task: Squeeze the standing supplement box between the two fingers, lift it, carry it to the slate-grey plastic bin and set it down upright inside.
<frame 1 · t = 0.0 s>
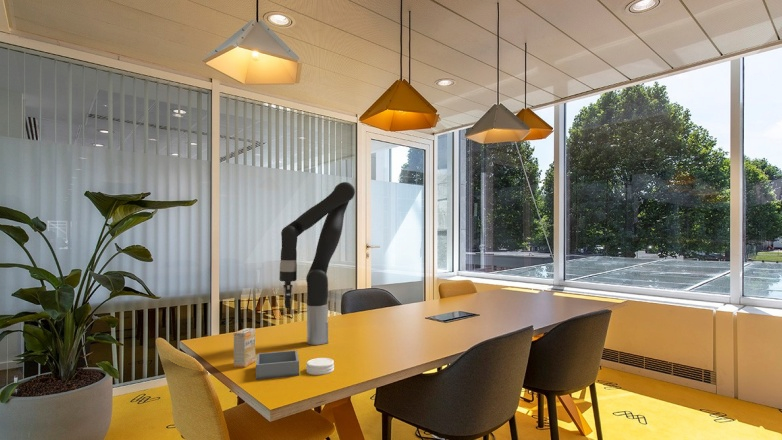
hand: (287, 306, 194), 17 cm above the table, tool pointing down, fingers open, 8 cm apart
bin: (277, 371, 158), on the table
supplement box: (245, 365, 167), on the table
white short cylinder: (320, 371, 158), on the table
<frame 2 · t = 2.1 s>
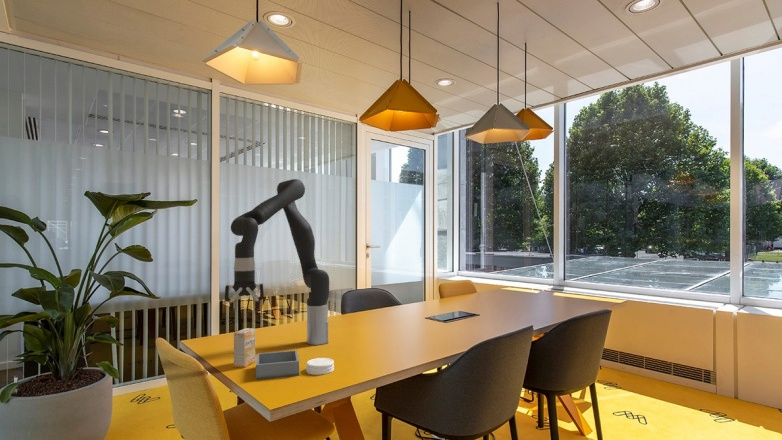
hand: (244, 311, 167), 20 cm above the table, tool pointing down, fingers open, 8 cm apart
nothing on the table moved.
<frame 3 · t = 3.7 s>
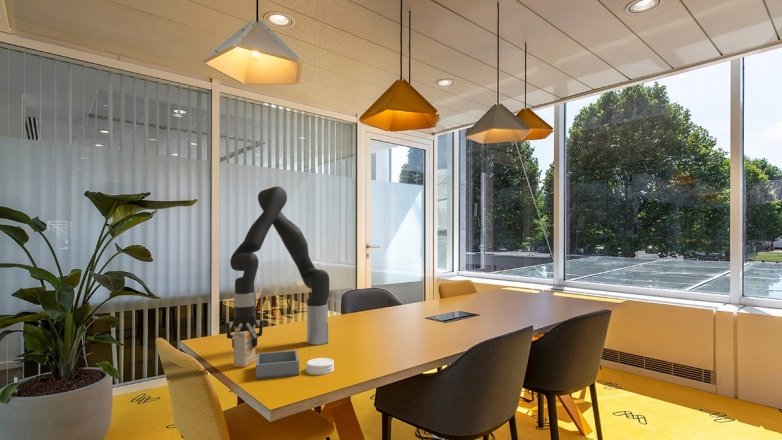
hand: (244, 348, 167), 6 cm above the table, tool pointing down, fingers closed on supplement box, 6 cm apart
supplement box: (245, 364, 167), on the table, touching gripper
everything else where it was.
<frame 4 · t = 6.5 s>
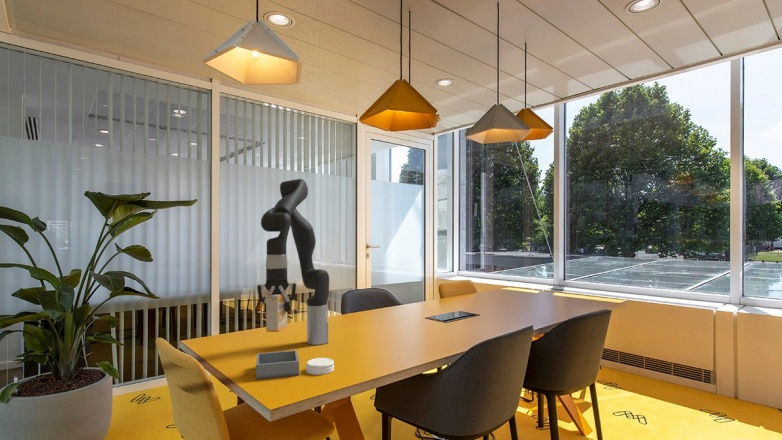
hand: (277, 312, 159), 21 cm above the table, tool pointing down, fingers closed on supplement box, 6 cm apart
supplement box: (277, 330, 159), point 15 cm above the table, touching gripper
everything else where it was.
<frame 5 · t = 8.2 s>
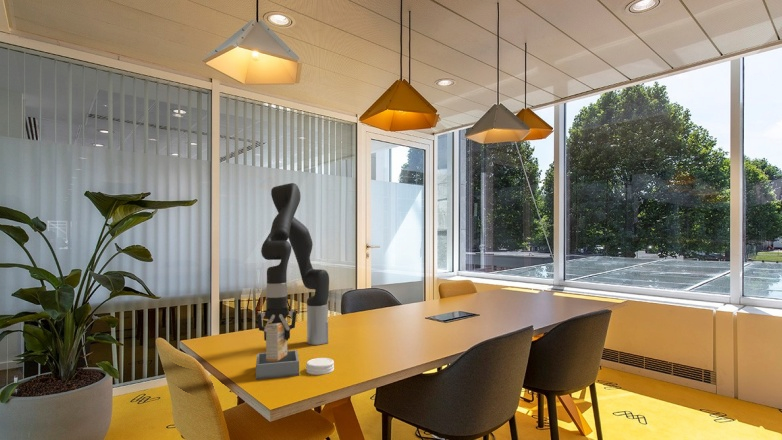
hand: (277, 340, 159), 11 cm above the table, tool pointing down, fingers closed on supplement box, 6 cm apart
supplement box: (277, 358, 158), point 4 cm above the table, touching gripper
everything else where it was.
when the fingers open (8 cm above the table, at t = 9.4 s): supplement box drops 1 cm, resting on bin.
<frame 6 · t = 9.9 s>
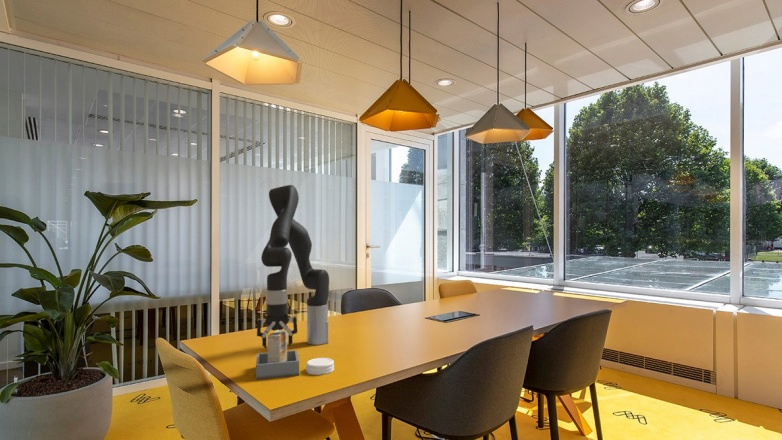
hand: (277, 346, 158), 9 cm above the table, tool pointing down, fingers open, 8 cm apart
supplement box: (277, 369, 158), point 1 cm above the table, touching bin
everything else where it was.
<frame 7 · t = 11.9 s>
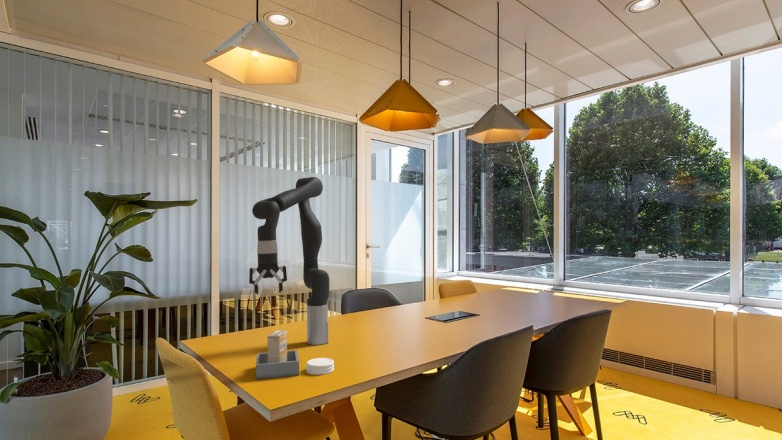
hand: (268, 293, 170), 27 cm above the table, tool pointing down, fingers open, 8 cm apart
nothing on the table moved.
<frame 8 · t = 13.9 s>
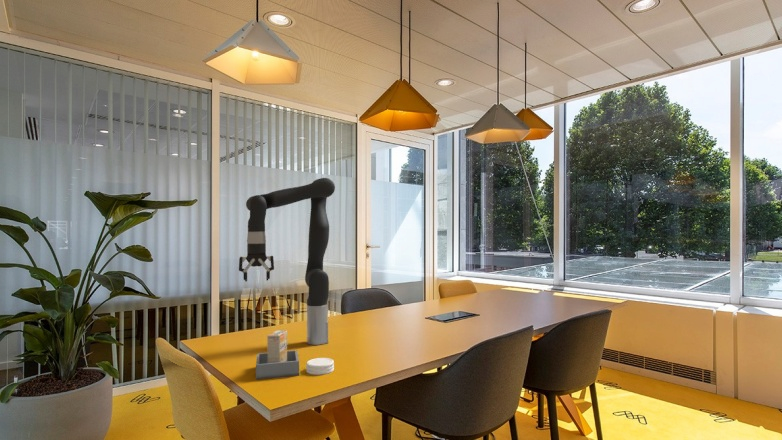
hand: (256, 280, 184), 30 cm above the table, tool pointing down, fingers open, 8 cm apart
nothing on the table moved.
at the end: supplement box inside the target area on the bin (0.1 cm from its centre), point 0.6 cm above the bin's base; supplement box tilted 0°; the gripper is holding nothing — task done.
